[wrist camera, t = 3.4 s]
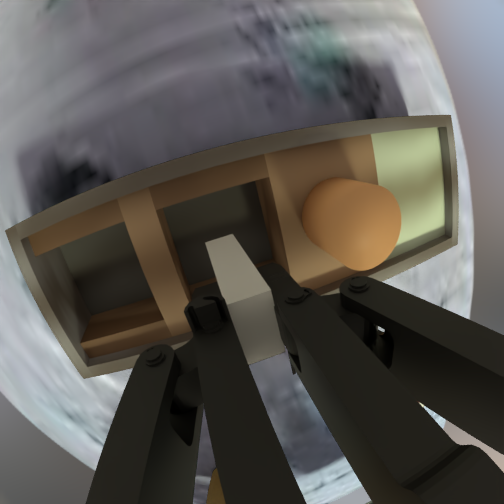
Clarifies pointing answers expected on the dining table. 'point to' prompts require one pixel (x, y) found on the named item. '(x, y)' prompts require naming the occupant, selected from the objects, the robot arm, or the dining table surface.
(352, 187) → the brown egg
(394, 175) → the track
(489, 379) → the robot arm
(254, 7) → the dining table surface
